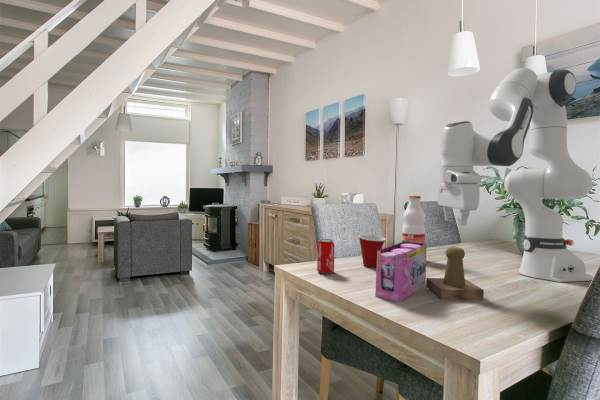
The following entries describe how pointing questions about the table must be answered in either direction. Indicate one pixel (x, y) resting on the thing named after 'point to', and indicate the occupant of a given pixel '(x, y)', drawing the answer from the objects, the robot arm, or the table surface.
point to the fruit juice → (414, 221)
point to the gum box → (400, 270)
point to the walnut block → (454, 290)
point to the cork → (454, 267)
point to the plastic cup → (370, 249)
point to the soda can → (325, 256)
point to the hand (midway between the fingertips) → (455, 223)
